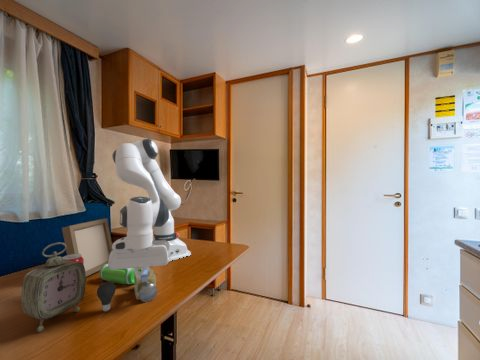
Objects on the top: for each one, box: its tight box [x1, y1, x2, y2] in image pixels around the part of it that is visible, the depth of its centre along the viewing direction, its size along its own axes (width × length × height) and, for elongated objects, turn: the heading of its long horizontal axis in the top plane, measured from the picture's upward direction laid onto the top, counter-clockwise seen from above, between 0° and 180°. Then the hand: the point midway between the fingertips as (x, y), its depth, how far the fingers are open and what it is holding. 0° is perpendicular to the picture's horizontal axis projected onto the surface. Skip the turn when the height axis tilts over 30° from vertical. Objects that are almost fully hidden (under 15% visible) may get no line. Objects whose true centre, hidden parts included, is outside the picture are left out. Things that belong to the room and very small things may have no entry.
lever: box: [140, 267, 151, 282], centre depth 86 cm, size 11×4×2 cm, turn 23°
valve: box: [133, 268, 158, 303], centre depth 89 cm, size 7×14×8 cm, turn 32°
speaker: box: [99, 264, 140, 285], centre depth 100 cm, size 18×7×8 cm, turn 73°
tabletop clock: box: [20, 241, 87, 333], centre depth 73 cm, size 14×9×25 cm, turn 160°
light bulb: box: [96, 281, 117, 312], centre depth 77 cm, size 6×6×10 cm
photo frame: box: [61, 217, 113, 278], centre depth 112 cm, size 15×22×25 cm
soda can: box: [61, 254, 84, 265], centre depth 90 cm, size 8×8×15 cm
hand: (139, 278), depth 82 cm, fingers closed
